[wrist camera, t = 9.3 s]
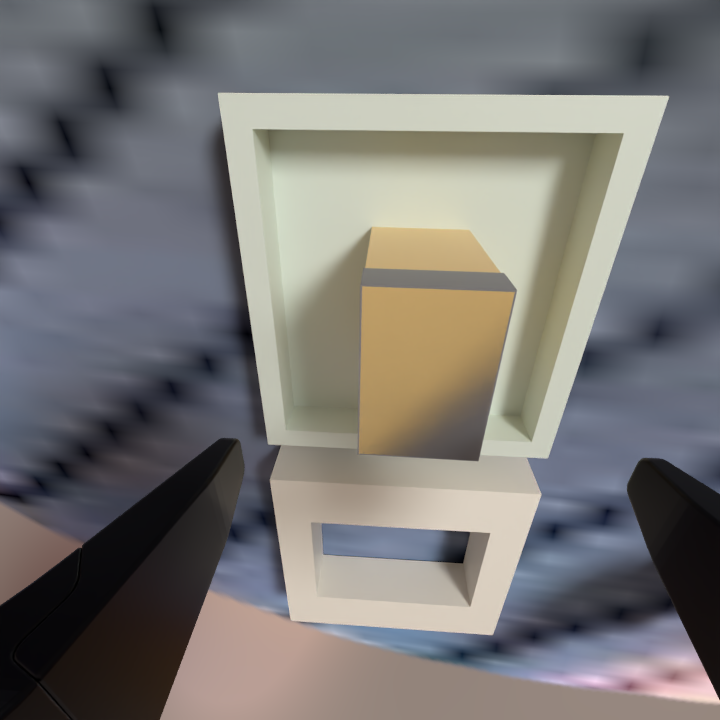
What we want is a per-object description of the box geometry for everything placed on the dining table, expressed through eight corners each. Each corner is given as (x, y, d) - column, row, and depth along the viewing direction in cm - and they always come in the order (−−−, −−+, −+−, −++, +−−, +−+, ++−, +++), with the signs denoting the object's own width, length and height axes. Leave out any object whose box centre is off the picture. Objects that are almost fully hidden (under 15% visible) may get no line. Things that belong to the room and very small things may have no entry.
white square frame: (524, 452, 23) (541, 494, 21) (484, 591, 30) (492, 635, 28) (282, 440, 24) (269, 479, 21) (298, 578, 31) (290, 620, 28)
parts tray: (627, 99, 14) (669, 95, 12) (532, 425, 22) (547, 458, 20) (242, 96, 15) (217, 92, 13) (279, 413, 23) (268, 444, 21)
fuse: (470, 228, 17) (517, 290, 11) (451, 357, 20) (478, 461, 14) (370, 225, 17) (360, 284, 11) (367, 353, 20) (357, 454, 14)
